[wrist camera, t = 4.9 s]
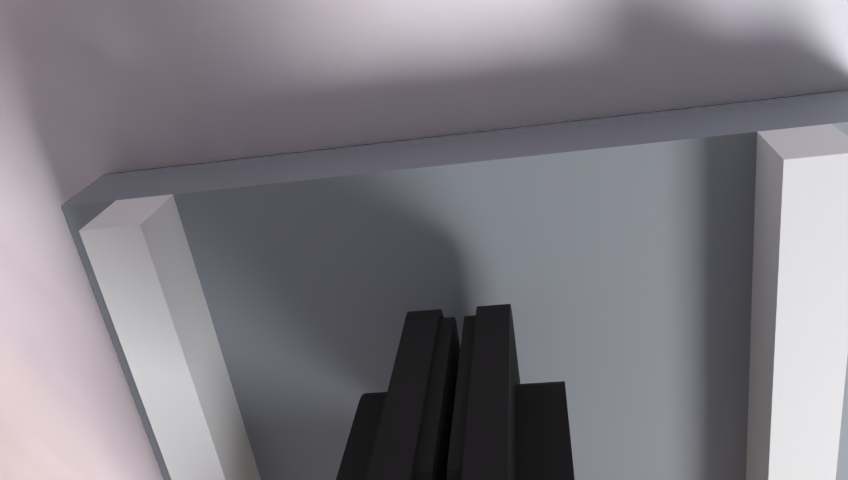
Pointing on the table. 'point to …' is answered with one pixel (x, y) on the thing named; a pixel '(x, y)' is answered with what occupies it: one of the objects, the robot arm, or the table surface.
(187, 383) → the railed grey tray
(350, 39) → the table surface
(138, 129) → the table surface
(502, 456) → the robot arm
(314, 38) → the table surface
